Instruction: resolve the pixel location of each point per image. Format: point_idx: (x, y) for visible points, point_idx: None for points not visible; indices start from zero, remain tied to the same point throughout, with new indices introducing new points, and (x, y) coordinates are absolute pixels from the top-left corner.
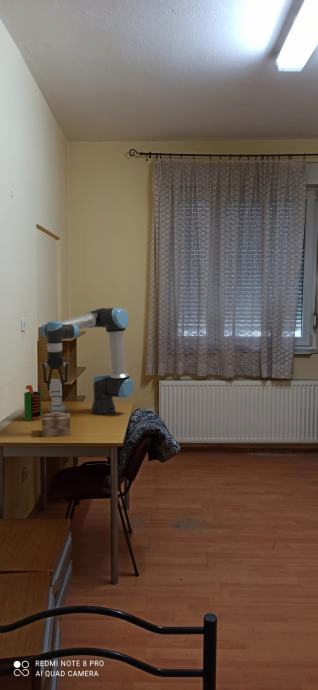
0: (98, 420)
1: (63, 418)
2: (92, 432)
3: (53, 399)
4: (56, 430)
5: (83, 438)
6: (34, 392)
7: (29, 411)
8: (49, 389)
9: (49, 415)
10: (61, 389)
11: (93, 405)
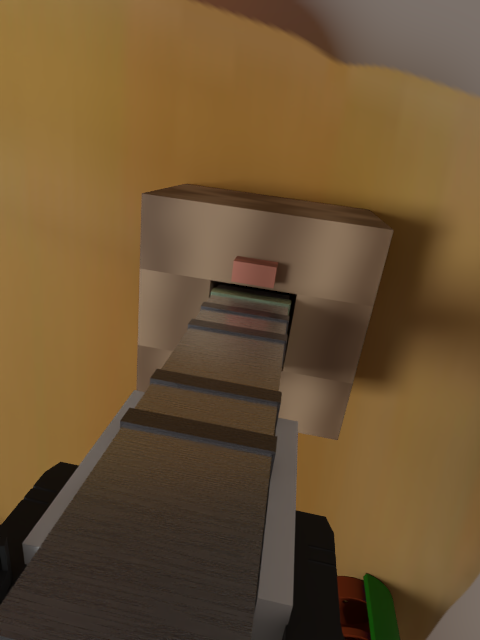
0: (27, 466)
1: (197, 212)
2: (49, 225)
3: (255, 372)
4: (270, 199)
5: (103, 79)
6: None
7: (381, 633)
8: (297, 516)
9: (300, 367)
10: (91, 454)
11: None
